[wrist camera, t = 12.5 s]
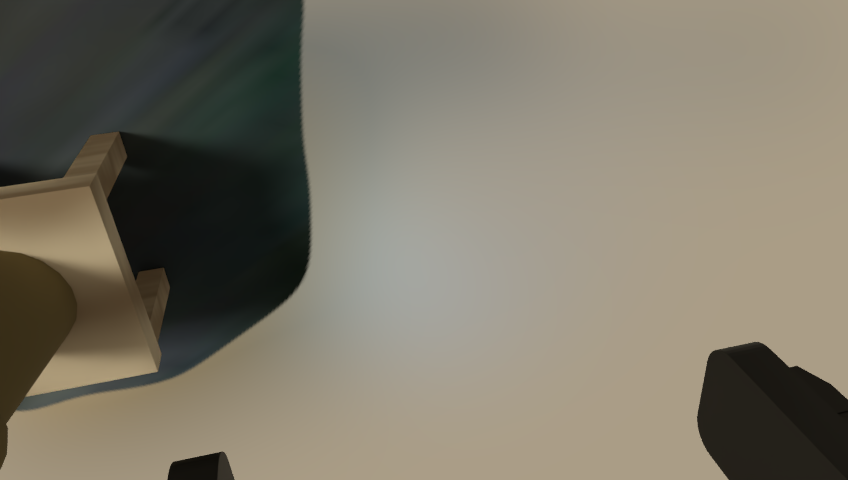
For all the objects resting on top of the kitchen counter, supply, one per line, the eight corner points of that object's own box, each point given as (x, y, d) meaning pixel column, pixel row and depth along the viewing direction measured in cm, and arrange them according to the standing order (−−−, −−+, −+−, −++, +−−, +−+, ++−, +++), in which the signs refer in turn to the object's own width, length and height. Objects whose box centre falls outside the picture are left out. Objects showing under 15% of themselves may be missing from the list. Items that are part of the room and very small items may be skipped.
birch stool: (-94, 156, 35) (-181, 226, 28) (122, 126, 36) (89, 186, 30) (-9, 322, 40) (-65, 413, 34) (175, 289, 42) (157, 371, 35)
